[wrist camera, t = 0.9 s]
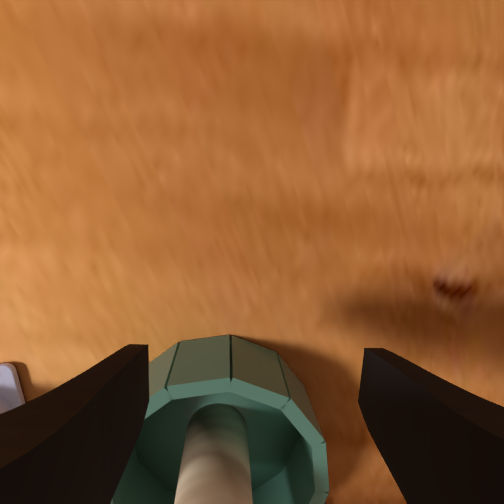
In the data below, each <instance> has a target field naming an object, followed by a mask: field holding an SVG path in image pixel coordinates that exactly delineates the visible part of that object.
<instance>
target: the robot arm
mask: <svg viewBox="0 0 504 504" xmlns="http://www.w3.org/2000/svg"><path fill="white" fill-rule="evenodd" d="M149 401H150V400H149V358H148V345H139V344H129V345H127V346H125V347H123V348H121V349H120V350H118V351H117V352H115V353H113V354H112V355H110V356H109V357H107V358H106V359H104V360H102V361H101V362H99V363H98V364H96V365H94V366H93V367H91V368H90V369H88V370H87V371H85V372H83V373H81V374H80V375H78V376H76V377H74V378H73V379H71V380H69V381H67V382H66V383H64V384H62V385H60V386H59V387H57V388H55V389H53V390H51V391H49V392H48V393H46V394H44V395H42V396H40V397H38V398H35V399H33V400H31V401H29V402H27V403H25V400H24V396H23V393H22V389H21V386H20V382H19V378H18V375H17V371H16V368H15V366H14V365H12V364H10V363H2V364H0V504H110V503H111V501H112V498H113V496H114V494H115V491H116V489H117V487H118V484H119V482H120V480H121V477H122V475H123V472H124V470H125V468H126V465H127V463H128V461H129V458H130V456H131V454H132V451H133V449H134V446H135V444H136V442H137V439H138V437H139V434H140V432H141V429H142V426H143V422H144V419H145V416H146V412H147V408H148V404H149ZM358 403H359V406H360V409H361V412H362V414H363V417H364V420H365V422H366V425H367V428H368V430H369V432H370V434H371V436H372V438H373V440H374V442H375V444H376V446H377V448H378V449H379V451H380V453H381V455H382V457H383V459H384V461H385V463H386V464H387V466H388V468H389V470H390V472H391V474H392V476H393V477H394V479H395V481H396V483H397V485H398V487H399V489H400V491H401V492H402V494H403V496H404V498H405V500H406V502H407V504H504V407H502V406H500V405H497V404H495V403H493V402H490V401H488V400H485V399H483V398H481V397H479V396H476V395H474V394H472V393H470V392H468V391H466V390H464V389H462V388H460V387H458V386H456V385H453V384H451V383H450V382H448V381H446V380H444V379H442V378H440V377H438V376H436V375H434V374H432V373H430V372H428V371H427V370H425V369H423V368H421V367H419V366H417V365H415V364H414V363H412V362H410V361H408V360H406V359H404V358H402V357H400V356H398V355H396V354H394V353H392V352H390V351H388V350H385V349H383V348H365V349H364V357H363V365H362V374H361V382H360V390H359V399H358Z"/></svg>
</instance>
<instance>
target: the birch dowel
mask: <svg viewBox="0 0 504 504" xmlns="http://www.w3.org/2000/svg"><path fill="white" fill-rule="evenodd" d="M174 504H253V500H252V487H251V474H250V461H249V449H248V436H247V425H246V421H245V418H244V417H243V415H242V414H241V413H240V412H239V411H238V410H237V409H236V408H234V407H232V406H230V405H227V404H221V403H215V404H209V405H206V406H204V407H202V408H200V409H198V410H197V411H196V412H195V413H194V414H193V415H192V416H191V418H190V420H189V422H188V425H187V431H186V436H185V442H184V448H183V454H182V460H181V466H180V472H179V478H178V484H177V490H176V496H175V502H174Z"/></svg>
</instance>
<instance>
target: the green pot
mask: <svg viewBox="0 0 504 504" xmlns="http://www.w3.org/2000/svg"><path fill="white" fill-rule="evenodd" d="M149 400H150V401H149V404H148V408H147V412H146V416H145V419H144V422H143V426H142V429H141V432H140V434H139V437H138V439H137V442H136V444H135V446H134V449H133V451H132V454H131V456H130V458H129V461H128V463H127V465H126V468H125V470H124V472H123V475H122V477H121V480H120V482H119V484H118V487H117V489H116V491H115V494H114V496H113V498H112V501H111V503H110V504H174V502H175V496H176V490H177V484H178V478H179V472H180V466H181V460H182V454H183V448H184V442H185V436H186V431H187V425H188V422H189V420H190V418H191V416H192V415H193V414H194V413H195V412H196V411H197V410H198V409H200V408H202V407H204V406H206V405H209V404H215V403H221V404H227V405H230V406H232V407H234V408H236V409H237V410H238V411H239V412H240V413H241V414H242V415H243V417H244V418H245V421H246V425H247V436H248V449H249V461H250V474H251V487H252V500H253V504H324V502H325V500H326V498H327V496H328V495H329V493H328V492H329V479H328V465H327V452H326V442H325V439H324V437H323V434H322V431H321V429H320V426H319V424H318V421H317V418H316V416H315V413H314V410H313V408H312V405H311V402H310V400H309V397H308V395H307V392H306V389H305V387H304V385H303V384H302V383H301V382H300V380H299V379H298V378H297V377H296V375H295V374H294V373H293V372H292V370H291V369H290V368H289V366H288V365H287V364H286V363H285V361H284V360H283V359H282V358H281V356H280V355H279V354H278V353H277V354H276V351H273V350H270V349H268V348H265V347H262V346H260V345H257V344H254V343H252V342H249V341H247V340H244V339H241V338H239V337H236V336H233V335H232V336H231V338H230V336H229V335H223V336H216V337H208V338H201V339H193V340H185V341H180V344H179V343H176V344H175V345H173V346H172V347H171V348H169V349H168V350H167V351H165V352H164V353H162V354H161V355H160V356H158V357H157V358H155V359H154V360H153V361H151V362H150V363H149Z"/></svg>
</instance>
